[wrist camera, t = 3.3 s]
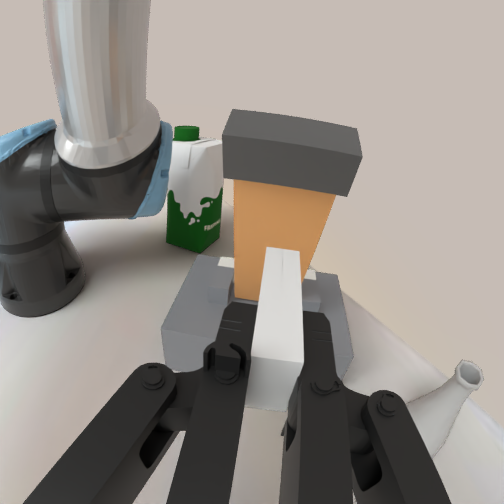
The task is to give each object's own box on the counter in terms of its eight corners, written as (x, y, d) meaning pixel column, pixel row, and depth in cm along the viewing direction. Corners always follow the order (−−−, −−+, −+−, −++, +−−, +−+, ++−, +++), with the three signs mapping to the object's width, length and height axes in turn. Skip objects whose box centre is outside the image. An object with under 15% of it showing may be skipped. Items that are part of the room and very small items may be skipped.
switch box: (334, 392, 29) (360, 341, 25) (166, 367, 30) (158, 312, 26) (326, 310, 41) (341, 261, 37) (197, 291, 42) (198, 240, 38)
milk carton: (185, 225, 59) (189, 123, 49) (226, 237, 57) (236, 129, 47) (158, 243, 52) (158, 128, 42) (202, 258, 50) (209, 134, 40)
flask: (401, 396, 28) (444, 333, 23) (450, 419, 25) (500, 361, 20) (379, 443, 23) (431, 385, 18) (434, 469, 20) (497, 416, 15)
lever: (296, 311, 31) (362, 156, 14) (228, 301, 31) (221, 134, 14) (298, 288, 32) (356, 128, 15) (233, 278, 32) (232, 109, 16)
